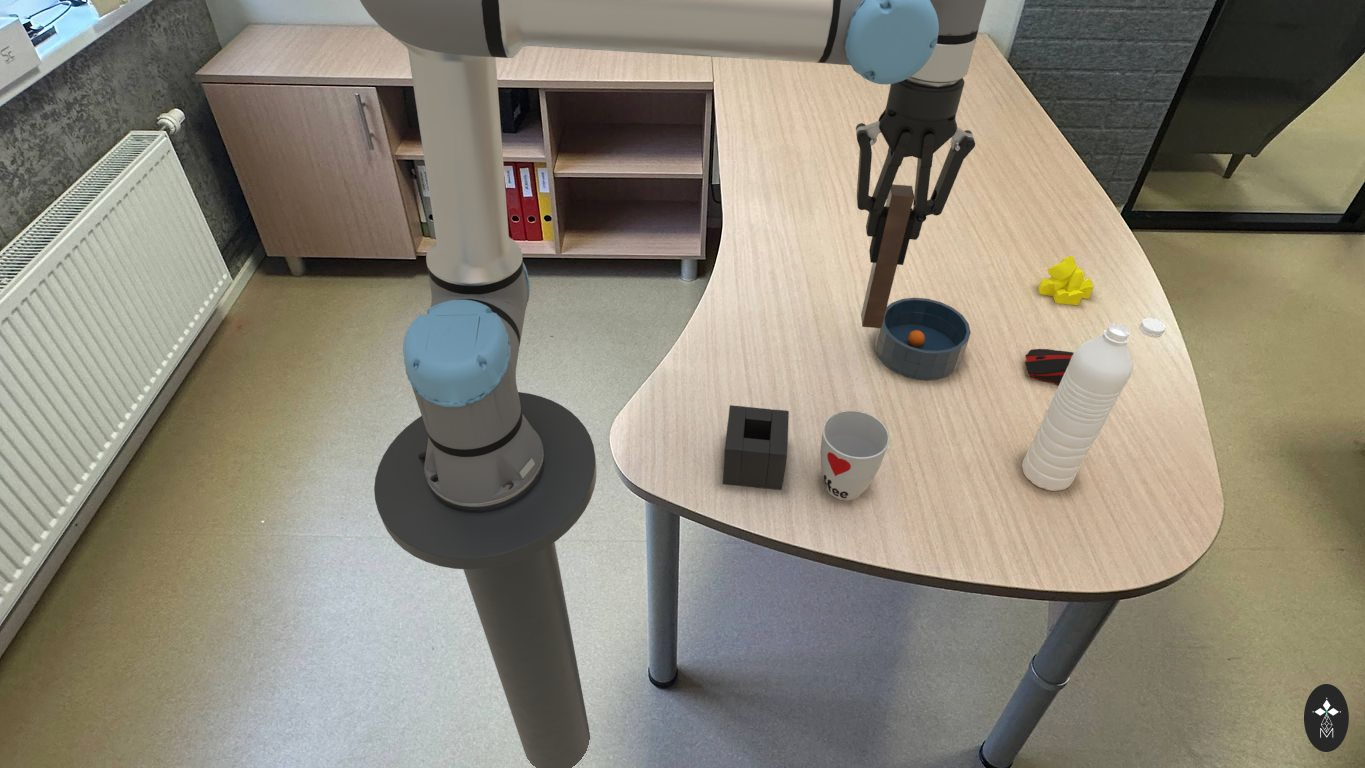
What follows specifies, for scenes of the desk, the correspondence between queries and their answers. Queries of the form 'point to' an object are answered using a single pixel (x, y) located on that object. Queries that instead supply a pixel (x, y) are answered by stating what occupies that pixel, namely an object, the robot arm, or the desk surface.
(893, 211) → the stick
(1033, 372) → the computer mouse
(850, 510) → the desk surface
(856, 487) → the cup
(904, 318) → the bowl
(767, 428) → the holder
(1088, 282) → the crumpled paper
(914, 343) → the bead
